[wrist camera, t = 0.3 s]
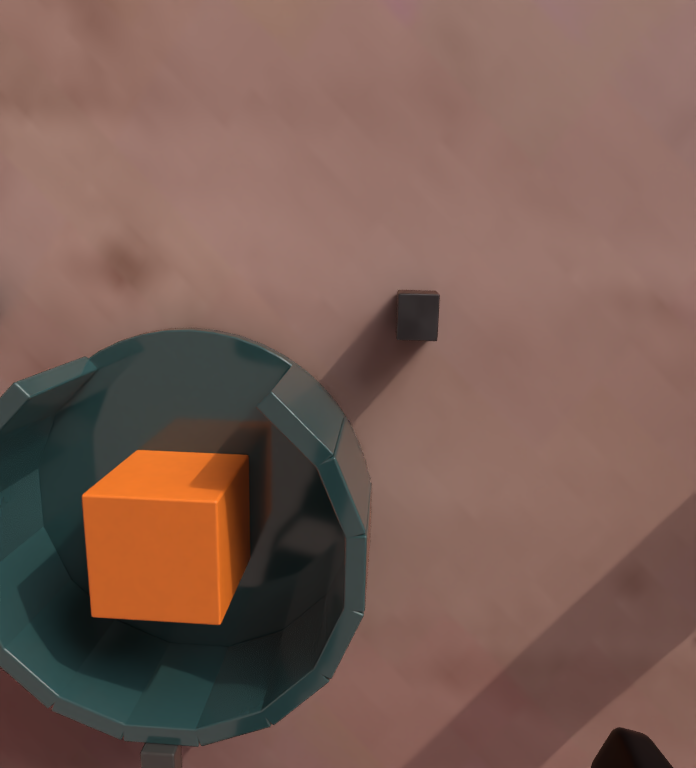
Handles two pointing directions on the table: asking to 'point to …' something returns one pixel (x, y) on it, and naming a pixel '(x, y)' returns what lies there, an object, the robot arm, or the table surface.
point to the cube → (168, 536)
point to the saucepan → (267, 539)
